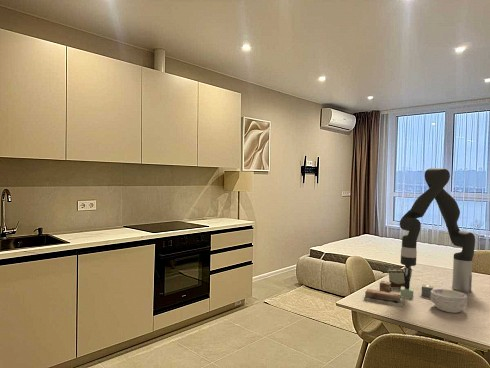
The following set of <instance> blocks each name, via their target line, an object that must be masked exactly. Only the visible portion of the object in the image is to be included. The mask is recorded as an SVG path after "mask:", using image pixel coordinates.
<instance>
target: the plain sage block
mask: <svg viewBox="0 0 490 368" xmlns="http://www.w3.org/2000/svg"><path fill="white" fill-rule="evenodd" d="M399 293H400V294H399V295H400V298H401V297H402V298H406V299H414V288H413V287H410V288H409V289H406V288H405V287H402V286H401V288H400V292H399Z"/></svg>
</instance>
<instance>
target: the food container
mask: <svg viewBox="0 0 490 368" xmlns="http://www.w3.org/2000/svg"><path fill="white" fill-rule="evenodd" d="M403 269H404V268H400V267H390V268H388V270H387V274H388V279H389V281H388V282H391V289H392V288H395V289H396V288H397V289H401V286H402V287H405V281H404V271H403Z"/></svg>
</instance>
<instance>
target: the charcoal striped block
mask: <svg viewBox="0 0 490 368" xmlns="http://www.w3.org/2000/svg"><path fill="white" fill-rule="evenodd" d="M433 289H434V285H429V284H422V285H421V296H422V297H426V298H430V297H431V296H430V295H431V290H433Z"/></svg>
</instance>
